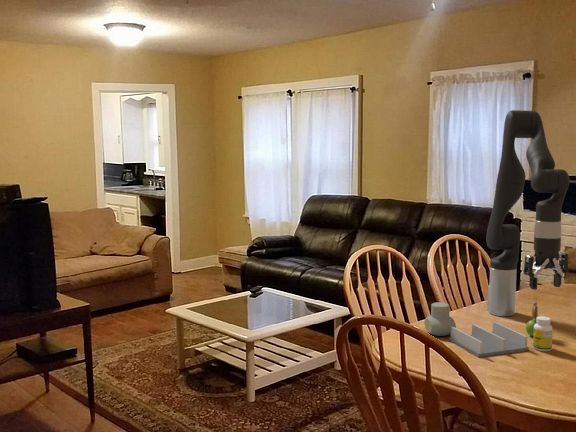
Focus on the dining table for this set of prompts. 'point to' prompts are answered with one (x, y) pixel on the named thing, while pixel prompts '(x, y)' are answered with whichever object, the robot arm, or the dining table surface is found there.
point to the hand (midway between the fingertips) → (545, 287)
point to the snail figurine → (532, 322)
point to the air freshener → (439, 320)
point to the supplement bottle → (542, 334)
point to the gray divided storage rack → (489, 340)
